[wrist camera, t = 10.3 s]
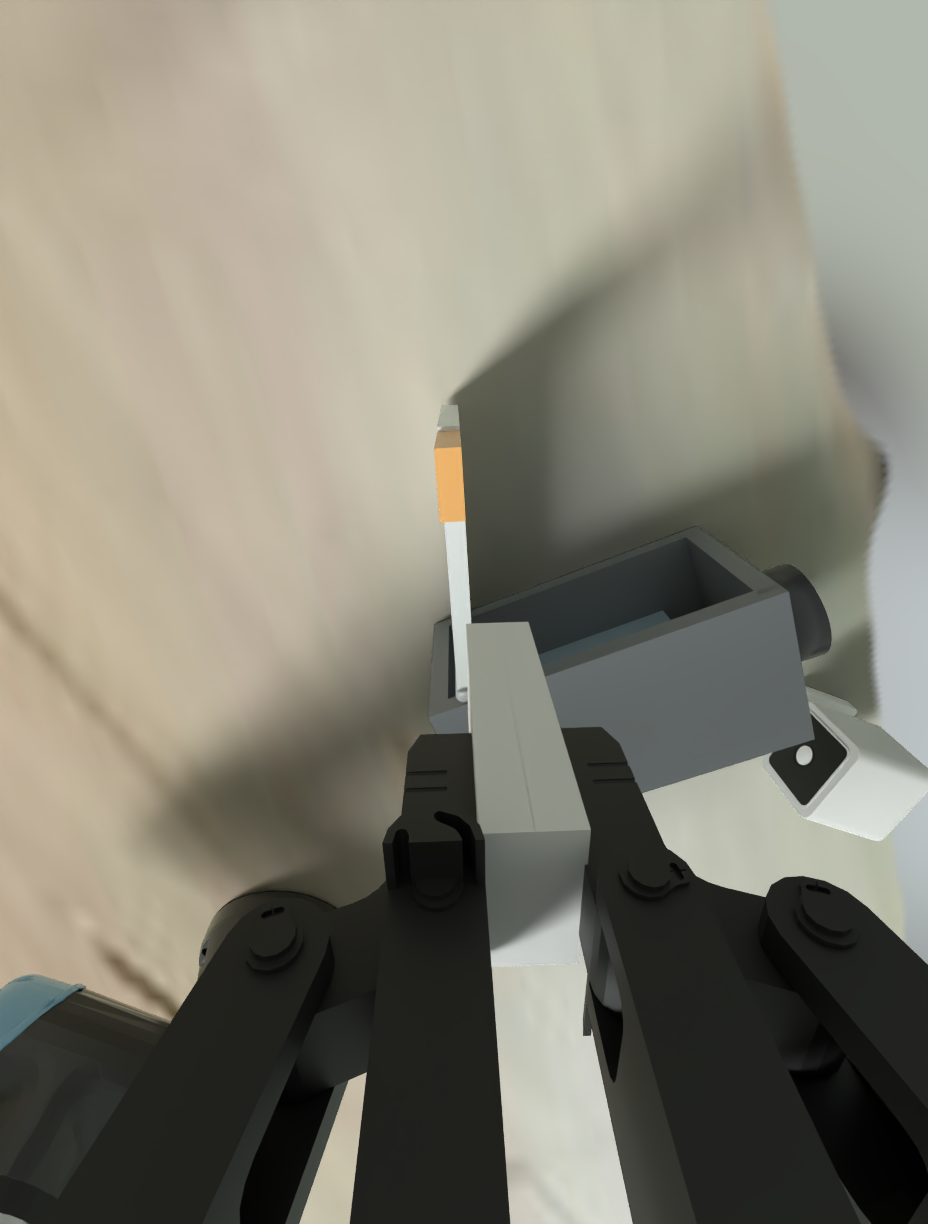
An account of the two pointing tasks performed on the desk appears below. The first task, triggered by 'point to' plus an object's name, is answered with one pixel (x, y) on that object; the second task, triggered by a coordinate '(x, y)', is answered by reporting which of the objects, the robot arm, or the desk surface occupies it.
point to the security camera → (848, 772)
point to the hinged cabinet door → (454, 534)
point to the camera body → (665, 655)
